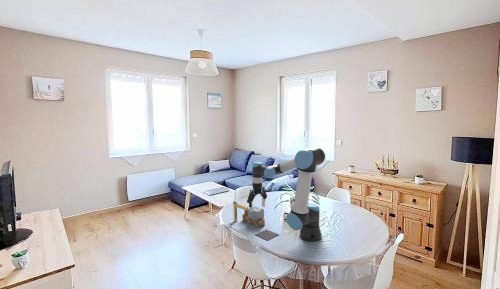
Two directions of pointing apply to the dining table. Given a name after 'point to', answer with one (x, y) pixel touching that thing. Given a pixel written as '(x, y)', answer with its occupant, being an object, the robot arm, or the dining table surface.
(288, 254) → the dining table surface
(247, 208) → the tan wooden flat frame
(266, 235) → the mat
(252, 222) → the plane body
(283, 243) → the dining table surface
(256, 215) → the light grey block
